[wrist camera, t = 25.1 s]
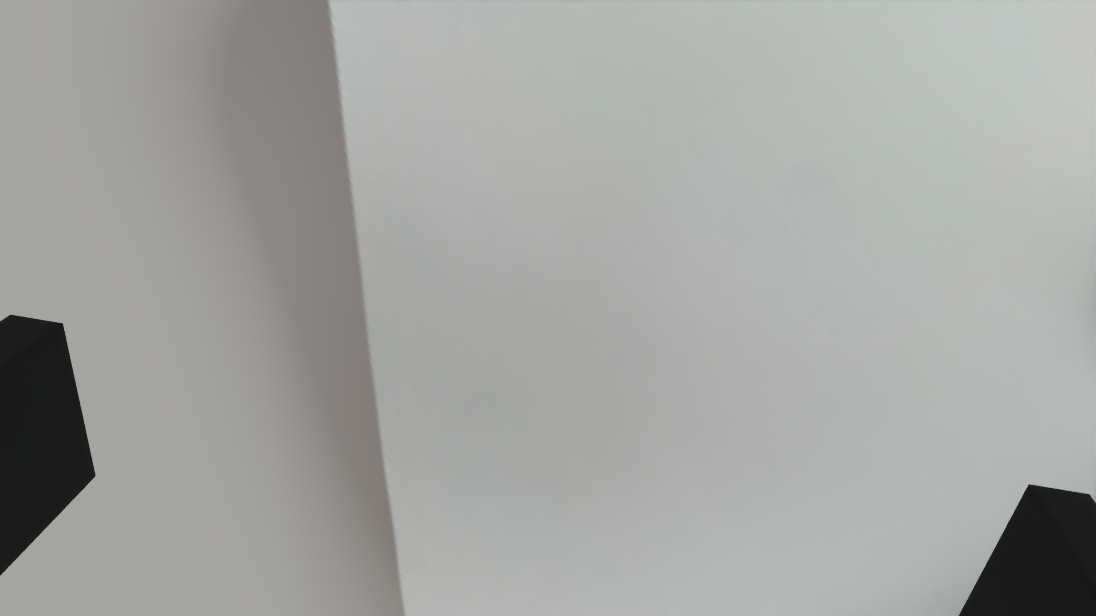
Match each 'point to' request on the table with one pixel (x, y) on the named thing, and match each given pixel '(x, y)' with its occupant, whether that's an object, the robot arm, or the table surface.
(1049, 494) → the robot arm
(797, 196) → the table surface
